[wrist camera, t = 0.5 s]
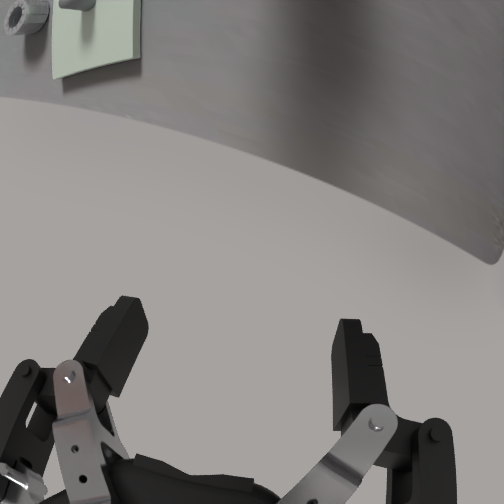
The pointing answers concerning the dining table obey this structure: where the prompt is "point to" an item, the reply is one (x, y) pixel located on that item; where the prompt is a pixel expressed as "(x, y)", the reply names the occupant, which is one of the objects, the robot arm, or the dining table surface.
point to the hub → (26, 17)
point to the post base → (93, 34)
